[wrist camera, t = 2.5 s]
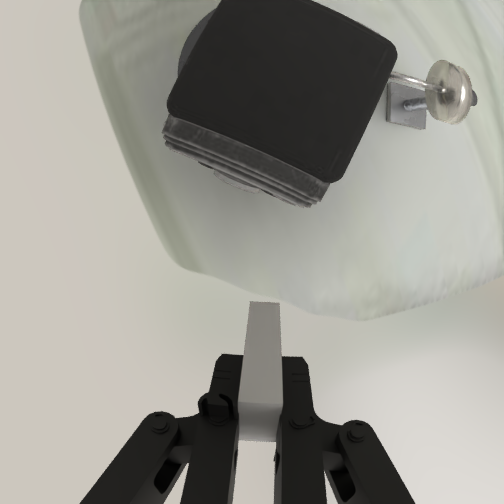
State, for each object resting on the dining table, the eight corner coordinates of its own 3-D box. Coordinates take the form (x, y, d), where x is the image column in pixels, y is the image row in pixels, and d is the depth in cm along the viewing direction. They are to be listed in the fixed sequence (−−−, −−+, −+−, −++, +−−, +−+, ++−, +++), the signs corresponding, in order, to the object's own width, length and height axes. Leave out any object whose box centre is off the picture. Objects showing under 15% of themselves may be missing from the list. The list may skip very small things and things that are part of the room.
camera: (197, 147, 25) (117, 165, 11) (244, 49, 21) (214, -35, 7) (299, 193, 26) (330, 259, 12) (347, 96, 22) (429, 60, 8)
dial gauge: (343, 73, 22) (394, 32, 10) (421, 90, 21) (499, 76, 10) (342, 116, 23) (397, 102, 12) (420, 131, 23) (500, 136, 12)
